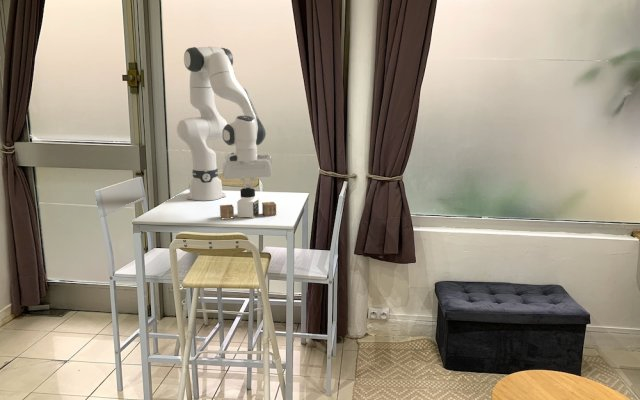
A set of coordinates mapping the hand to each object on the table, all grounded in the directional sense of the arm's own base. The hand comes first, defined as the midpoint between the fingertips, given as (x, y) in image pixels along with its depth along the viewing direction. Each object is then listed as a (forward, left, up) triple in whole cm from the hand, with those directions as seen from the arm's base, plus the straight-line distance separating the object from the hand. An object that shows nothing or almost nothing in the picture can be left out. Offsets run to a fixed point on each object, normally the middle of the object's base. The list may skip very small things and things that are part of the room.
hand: (247, 188), depth 226 cm
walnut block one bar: (0, -9, -12) cm, 15 cm away
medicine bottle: (0, 0, -12) cm, 12 cm away
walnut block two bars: (0, +9, -12) cm, 15 cm away
